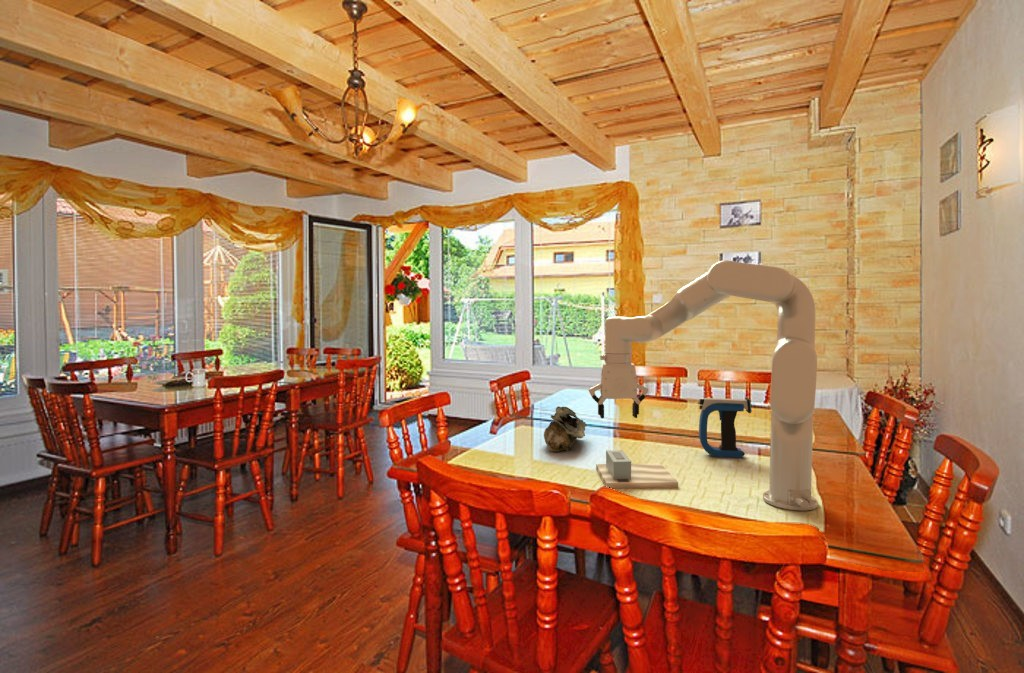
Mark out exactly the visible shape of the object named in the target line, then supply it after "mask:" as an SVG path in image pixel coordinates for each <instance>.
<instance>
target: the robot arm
mask: <svg viewBox="0 0 1024 673" xmlns="http://www.w3.org/2000/svg"><path fill="white" fill-rule="evenodd" d="M730 296H732V297H737V298H744V299H750V300H755V301H763V302H768V303H773V304H774V305H775V307H776V311H777V323H776V324H777V325H776V326H777V330H776V331H777V332H776V342H775V343H776V344H775V348H774V349H773V350H774V351H773V352H772V360H771V378H770V379H771V381H770V395H769V396H770V397H769V405H770V409H771V411H770V413H771V414H770V441H769V442H770V447H769V448H770V452H769V489H768V490H766V491H764V492H763V493H762V499H763V501H764V502H765V503H767V504H769V505H771V506H773V507H777V508H779V509H784V510H789V511H801V512H802V511H811V510H815V509H817V508H818V507H819V501H818V500H817V498H816V497H814V496H812V479H813V478H812V476H813V475H812V472H813V471H812V470H813V467H812V466H813V441H814V440H813V439H814V436H813V435H814V410H815V406H816V405H815V404H816V403H815V402H816V392H817V391H816V389H817V388H816V387H817V377H818V376H817V373H818V355H817V352H816V345H815V344H816V343H815V342H816V304H815V300H814V298H813V294H812V293H811V291H810V289H809V288H808V286H807V285H806V284H805V283H804V282H803V281H802V280H800V278H798V277H796V276H795V275H793V274H791V273H789V272H788V271H787V270H786V269H784V268H781V267H778V266H772V265H771V266H769V265H763V264H754V263H747V262H741V261H734V260H730V259H729V260H728V259H727V260H726V259H725V260H720V261H717V262H716V263H714V264H713V265H711V267H710V269H708V271H706V272H705V273H704V274H702V275H701V276H700V277H697V278H696V279H695V280H692V281H691V282H690V283H688V284H686V285H684V286H683V287H681V288H680V289H678V290H677V292H676V293H675V294H674V295H673V297H672V298H671V299H670V300H669V301H667V302H666V303H664V304H663V305H662V306H660V307H659V308H657V309H656V310H655V309H654V311H652V312H650V313H649V314H647V315H641V316H634V317H628V316H609V317H607V318H606V319H605V324H604V327H605V328H604V329H605V330H604V336H605V338H604V339H605V340H604V341H605V342H604V343H605V344H604V346H605V347H604V348H605V349H604V350H605V351H604V354H601V355H599V358H600V359H599V360H600V361H604V363H603V364H602V367H601V375H600V377H601V378H600V382H599V383H597V384H596V385H594V386H592V387H590V388H588V393H589V395H590V396H591V398H592V399H593V400H594V401H595V403H597V416H599V417H600V419H605V405H604V403H605V401H607V399H608V400H623V399H626V400H627V399H629V400H630V399H632V401H633V402H632V412H631V413H632V417H633V418H635V419H637V418H638V415H640V405H641V403H642V401H644V400H645V399H646V396H647V395H648V392H649V388H647V387H645V386H643V385H641V384H639V383H638V382H637V381H638V380H637V372H636V366H635V363H632V358H633V356H632V354H633V353H632V350H633V349H632V342H633V343H637V344H644V343H645V344H646V343H649V342H652V341H656V340H657V339H659V338H661V337H663V336H665V335H666V334H668V333H670V332H671V331H673V330H674V329H676V328H678V327H680V326H681V325H682V324H684V323H686V322H688V321H690V320H692V319H695V318H696V317H697V316H699V315H700V314H701V313H704V312H705V311H707V310H709V309H710V308H712V307H714V306H715V305H717V304H718V303H721V302H722V301H724V300H725V299H727V298H729V297H730ZM599 390H600V396H599V397H598V396H597V395H596V393H595V392H597V391H599ZM638 390H641V393H640V395H638Z"/></svg>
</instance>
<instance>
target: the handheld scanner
mask: <svg viewBox="0 0 1024 673" xmlns="http://www.w3.org/2000/svg"><path fill="white" fill-rule="evenodd" d="M699 410H701V411H700V415H699V421H698V423H699V424H698V436H699V437H698V438H699V441H700V442H699V443H700V444H701V446H702V448H703V450H704V451H705V452H706V453H707V454H708V455H710V456H711V457H715V458H725V459H726V458H727V459H728V458H731V459H743V458H744V457H745V455H746V454H745V451H744V450H742V449H741V448H739V447H737V431H736V427H735V420H736V418H737V414H738V412H744V411H746V412H747V413H748V414H752V411H753V410H752V403H751V399H750V398H749V397H745V398H742V399H741V398H717V397H714V398H713V397H704V398H700V399H699ZM713 412H718V416H719V421H720V445H719V447H718V446H713V445H710V443H709V442H708V421H709V420H708V419H709V416H710V415H711V414H712V413H713Z"/></svg>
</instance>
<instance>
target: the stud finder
mask: <svg viewBox="0 0 1024 673" xmlns="http://www.w3.org/2000/svg"><path fill="white" fill-rule="evenodd" d="M605 464H606V467H607V469H608V471H609V472H610V474H611V476H612V477H613V479H631V464H632V461H631V460H630V458H629V457H628V455H627V454H626V453H625V451H624V450H623V449H622V450H621V449H620V450H619V449H615V450H614V449H613V450H611V449H610V450H609V449H608V450H607V449H606V450H605Z"/></svg>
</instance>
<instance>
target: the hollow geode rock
mask: <svg viewBox="0 0 1024 673" xmlns="http://www.w3.org/2000/svg"><path fill="white" fill-rule="evenodd" d="M550 418H551V419H552V421H551V422H550V423H549V425H548V426H547V427H546V428H545V429H544V431H543V438H544V442H545V444H546V445H547V448H548V450H549V451H550V452H552V453H555V452H556V453H557V452H561V451H566V452H569V451H570V450H571V448H572V446H573V444H574V443H575V442H576V441H577V439H583V438H584V437H585V436H586V435H585V431H586V427H587V425H588V424H587V423H586V421H584V420H583V419H580V418H579V417H578V416H577V414H576V412H575V411H573V410H572V409H571V408H570V407H568V406H557V407H555V413H554V415H552V414H551V415H550Z"/></svg>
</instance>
